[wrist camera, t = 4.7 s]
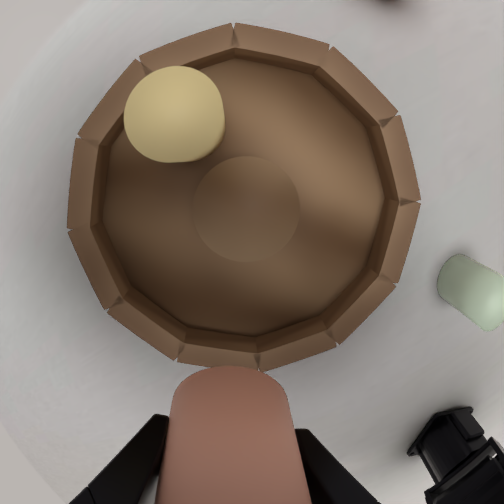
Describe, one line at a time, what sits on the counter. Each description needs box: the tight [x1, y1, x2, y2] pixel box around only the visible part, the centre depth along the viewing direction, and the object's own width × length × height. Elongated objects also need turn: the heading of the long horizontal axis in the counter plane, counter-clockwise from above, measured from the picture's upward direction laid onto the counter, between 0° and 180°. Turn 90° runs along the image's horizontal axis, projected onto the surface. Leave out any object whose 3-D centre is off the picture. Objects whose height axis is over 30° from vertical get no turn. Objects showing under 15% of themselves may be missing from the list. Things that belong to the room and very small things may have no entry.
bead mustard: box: [124, 66, 226, 163], centre depth 12 cm, size 4×4×5 cm
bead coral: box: [154, 366, 312, 504], centre depth 6 cm, size 4×4×5 cm
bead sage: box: [437, 254, 504, 332], centre depth 17 cm, size 4×4×5 cm
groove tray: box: [67, 23, 421, 372], centre depth 15 cm, size 18×18×2 cm
